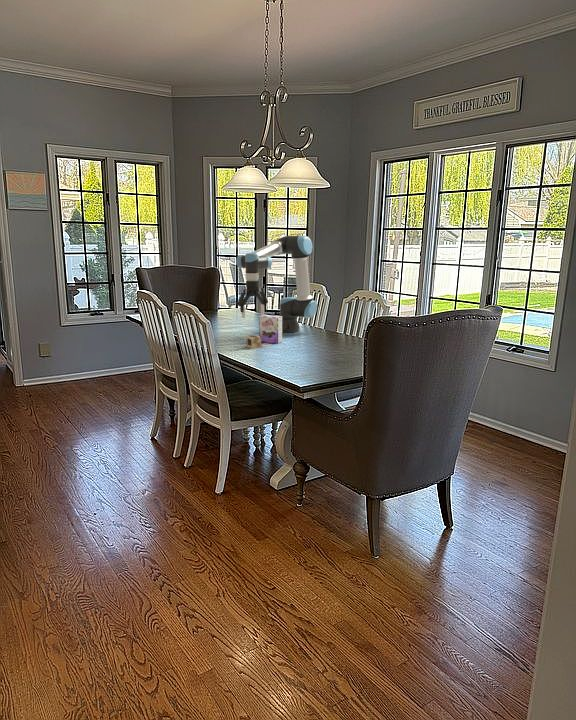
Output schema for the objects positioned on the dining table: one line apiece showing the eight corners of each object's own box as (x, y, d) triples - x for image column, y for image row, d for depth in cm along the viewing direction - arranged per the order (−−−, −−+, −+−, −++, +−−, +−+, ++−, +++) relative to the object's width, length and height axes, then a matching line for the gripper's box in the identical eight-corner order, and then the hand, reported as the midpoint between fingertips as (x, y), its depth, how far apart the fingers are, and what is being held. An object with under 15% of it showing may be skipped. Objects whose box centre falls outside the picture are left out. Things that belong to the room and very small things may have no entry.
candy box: (258, 341, 331) (258, 315, 327) (263, 340, 336) (263, 314, 332) (278, 344, 325) (277, 317, 321) (282, 342, 330) (282, 316, 326)
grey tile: (266, 343, 326) (266, 342, 326) (272, 345, 321) (272, 344, 321) (256, 345, 322) (256, 344, 322) (263, 347, 316) (263, 346, 316)
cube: (255, 344, 320) (254, 334, 319) (260, 346, 316) (260, 336, 314) (246, 346, 317) (246, 336, 315) (252, 348, 312) (251, 337, 311)
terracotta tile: (255, 345, 321) (255, 344, 321) (261, 347, 316) (261, 346, 316) (245, 346, 317) (245, 346, 317) (252, 348, 312) (252, 348, 312)
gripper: (266, 278, 317) (266, 313, 322) (230, 281, 303) (231, 317, 308) (273, 279, 312) (273, 315, 317) (237, 282, 297) (238, 319, 302)
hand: (253, 316), depth 312 cm, fingers open, 13 cm apart
